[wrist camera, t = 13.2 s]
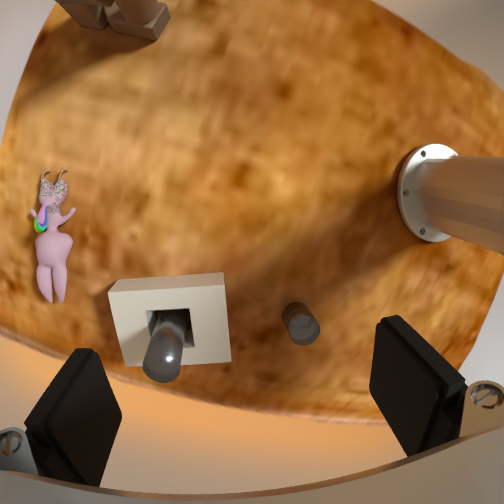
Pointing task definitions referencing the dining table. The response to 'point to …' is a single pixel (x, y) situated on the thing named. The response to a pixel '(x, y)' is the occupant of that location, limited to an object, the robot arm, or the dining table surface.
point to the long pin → (166, 346)
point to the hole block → (172, 297)
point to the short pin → (300, 323)
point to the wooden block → (120, 15)
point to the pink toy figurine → (52, 237)
